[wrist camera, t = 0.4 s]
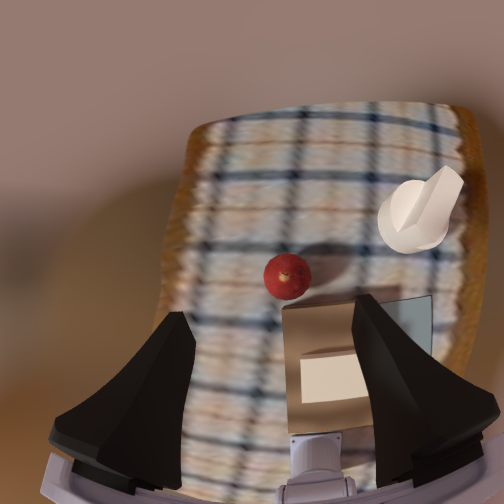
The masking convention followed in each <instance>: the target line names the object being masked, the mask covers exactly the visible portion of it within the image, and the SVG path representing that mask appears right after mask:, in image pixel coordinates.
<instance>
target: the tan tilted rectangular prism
mask: <svg viewBox="0 0 504 504" xmlns="http://www.w3.org/2000/svg"><path fill="white" fill-rule="evenodd" d="M300 365H301V392H302V403H313V402H324V401H334V400H343V399H351V398H358V397H364V396H369V395H368V391H367V388H366V384H365V381H364V377H363V374H362V371H361V368H360V364H359V361H358V358H357V355H356V351H355V350H348V351H339V352H330V353H320V354H308V355H300Z"/></svg>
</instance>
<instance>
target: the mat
mask: <svg viewBox="0 0 504 504" xmlns="http://www.w3.org/2000/svg"><path fill="white" fill-rule="evenodd" d="M380 306H381V307H382V308H383V309H384V310H385V311H386V312H387V313H388V315H389V316H390V317H391V318H392V319H393V320H394V321H395V322H396V323H397V324H398V325H399V326H400V327H401V329H402V330H403V331H404V332H405V333H406V334H407V335H408V336H409V337H410V338H411V339H412V340H413V341H414V342H416V343H417V344H418V345H419V346H420V347H421V348H422V349H423V350H424V351H425V352H427V353H428V354H429V355H430V354H431V296H426V297H420V298H414V299H408V300H402V301H395V302H388V303H381V304H380Z"/></svg>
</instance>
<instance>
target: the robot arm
mask: <svg viewBox="0 0 504 504" xmlns="http://www.w3.org/2000/svg"><path fill="white" fill-rule="evenodd" d="M351 331H352V336H353V342H354V347H355V351H356V355H357V358H358V361H359V364H360V368H361V371H362V374H363V377H364V381H365V384H366V388H367V391H368V395H369V399H370V404H371V411H372V418H373V426H374V436H375V450H376V486H377V489H378V488H381V489H378V490H374V491H370V492H365V493H361V494H357V491H356V484H355V480H354V479H352V478H351V477H350V476H348V477H346V478H345V479H344V473H343V472H342V471H341V464H340V453H341V440H342V434H341V433H340V432H337V433H327V434H316V435H300V436H291V438H290V448H291V479H288V480H287V486H286V485H281V486H280V487H279V488H278V489H277V490H276V493H275V499H274V504H379V503H381V504H482V503H483V502H485V501H486V500H487V499H489V498H490V497H492V496H493V495H494V494H496V493H497V492H498V491H500V490H501V489H502V488H504V432H503V433H501V434H499V435H498V436H496V437H495V438H493V439H492V440H490V441H489V442H487V443H485V444H483V445H482V446H481V443H480V441H481V440H482V439H483V435H482V431H483V430H484V429H485V428H487V427H488V426H489V425H490V424H492V423H493V422H494V421H495V420H496V419H497V418H498V417H499V415H500V409H499V407H498V404H497V402H496V399H495V397H494V395H493V394H492V393H489V392H487V391H485V390H483V389H481V388H479V387H477V386H474V385H473V384H471V383H469V382H468V381H466V380H464V379H462V378H461V377H459V376H458V375H456V374H455V373H453V372H452V371H450V370H449V369H447V368H446V367H444V366H443V365H442V364H440V363H439V362H438V361H436V360H435V359H434V358H433V357H431V356H430V355H429V354H428V353H427V352H425V351H424V350H423V349H422V348H421V347H420V346H419V345H418V344H417V343H416V342H414V341H413V340H412V339H411V338H410V337H409V336H408V335H407V334H406V333H405V332H404V331H403V330H402V329H401V327H400V326H399V325H398V324H397V323H396V322H395V321H394V320H393V319H392V318H391V317H390V316H389V315H388V313H387V312H386V311H385V310H384V309H383V308H382V307H381V306H380V304H379V303H378V302H377V301H376V300H375V299H374V298H373V296H372V295H371V294H365V295H358V296H356V299H355V307H354V314H353V320H352V327H351ZM195 348H196V341H195V339H194V336H193V334H192V332H191V330H190V327H189V325H188V323H187V321H186V318H185V316H184V314H183V311H182V312H169V314H168V315H167V316H166V317H165V318H164V320H163V321H162V322H161V324H160V325H159V326H158V327H157V329H156V330H155V331H154V332H153V334H152V335H151V336H150V338H149V339H148V340H147V341H146V343H145V344H144V345H143V346H142V347H141V349H140V350H139V351H138V352H137V353H136V354H135V356H134V357H133V358H132V359H131V360H130V361H129V363H128V364H127V365H126V366H125V367H124V368H123V369H122V370H121V371H120V372H119V373H118V374H117V375H116V376H115V377H114V378H113V379H111V380H110V381H109V382H108V383H107V384H106V385H105V386H103V387H102V388H101V389H100V390H99V391H97V392H96V393H95V394H93V395H92V396H91V397H89V398H88V399H87V400H85V401H84V402H82V403H81V404H79V405H78V406H76V407H74V408H73V409H71V410H69V411H67V412H66V413H64V414H62V415H60V416H58V417H56V419H55V422H54V425H53V427H52V430H51V433H50V435H49V438H48V441H49V443H51V444H52V445H53V446H55V447H57V448H58V449H60V450H61V451H63V452H64V453H66V454H68V455H70V456H71V457H74V458H75V460H74V463H73V462H71V461H69V460H67V459H65V458H63V457H61V456H59V455H57V454H55V453H53V452H52V453H51V455H50V458H49V461H48V465H47V468H46V471H45V475H44V479H43V482H42V486H41V490H40V492H41V494H43V495H44V496H46V497H47V498H49V499H50V500H52V501H54V502H55V503H57V504H233V503H220V502H210V501H202V500H195V499H188V498H182V497H177V496H172V495H167V494H162V493H157V492H154V490H155V489H158V490H163V488H167V489H172V490H177V489H179V488H180V487H181V486H182V482H181V431H182V420H183V411H184V405H185V401H186V396H187V392H188V387H189V383H190V379H191V374H192V370H193V365H194V359H195ZM337 437H340V438H337ZM293 440H294V442H293ZM395 483H398V484H395ZM392 484H395V485H392ZM389 485H392V486H389ZM385 486H388V487H385ZM382 487H385V488H382Z"/></svg>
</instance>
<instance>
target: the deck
mask: <svg viewBox="0 0 504 504" xmlns="http://www.w3.org/2000/svg"><path fill="white" fill-rule="evenodd" d="M354 307H355V300H347V301H338V302H329V303H318V304H307V305H296V306H284V307H283V308H282V324H283V339H284V355H285V373H286V393H287V415H288V433H305V432H319V431H330V430H339V429H347V428H354V427H361V426H367V425H372V424H373V418H372V411H371V404H370V399H369V396H364V397H358V398H351V399H343V400H334V401H324V402H313V403H302V392H301V365H300V355H308V354H320V353H330V352H339V351H348V350H355V347H354V342H353V336H352V331H351V327H352V320H353V314H354Z"/></svg>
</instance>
